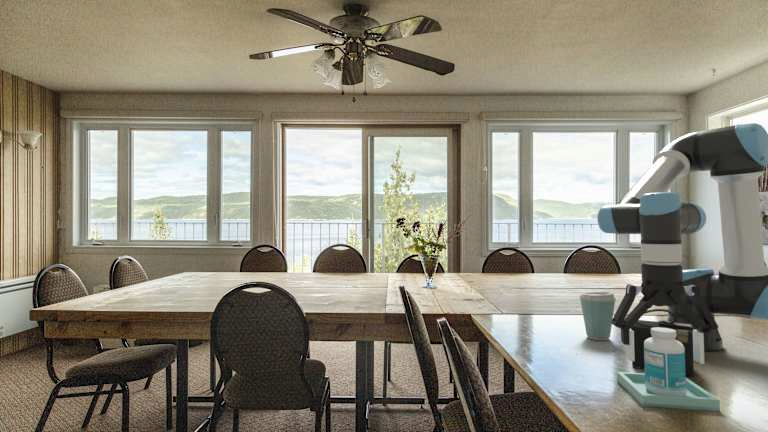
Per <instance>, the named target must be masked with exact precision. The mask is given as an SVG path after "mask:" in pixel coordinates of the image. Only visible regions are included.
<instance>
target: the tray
mask: <svg viewBox="0 0 768 432" xmlns="http://www.w3.org/2000/svg"><path fill="white" fill-rule="evenodd" d="M616 381H617V382H618V384H620V386H621V387H622V388H623V389H625V391H626V392H628V393H629V394H630V395H631V396H632V397H633V398H634V400H636V401H637V402H638V403H639V404H640V405H641V406H642V407H651V408H667V409H679V410H680V409H682V410H694V411H695V410H697V411H714V412H721V411H720V410H721V400H720V399H719V398H717V396H714V395H713V394H712V393H710V392H709V391H707V390H705V389H704V388H702V387H701V386H700V385H698V384H696V383H695V382H694V381H692V380H691V379H689V378H688V377H686V394H685V395H684V396H676V395H659V394H654V393H652V392H650V391H649V390H647V388H646V386H645V372H627V371H626V372H625V371H616Z"/></svg>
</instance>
